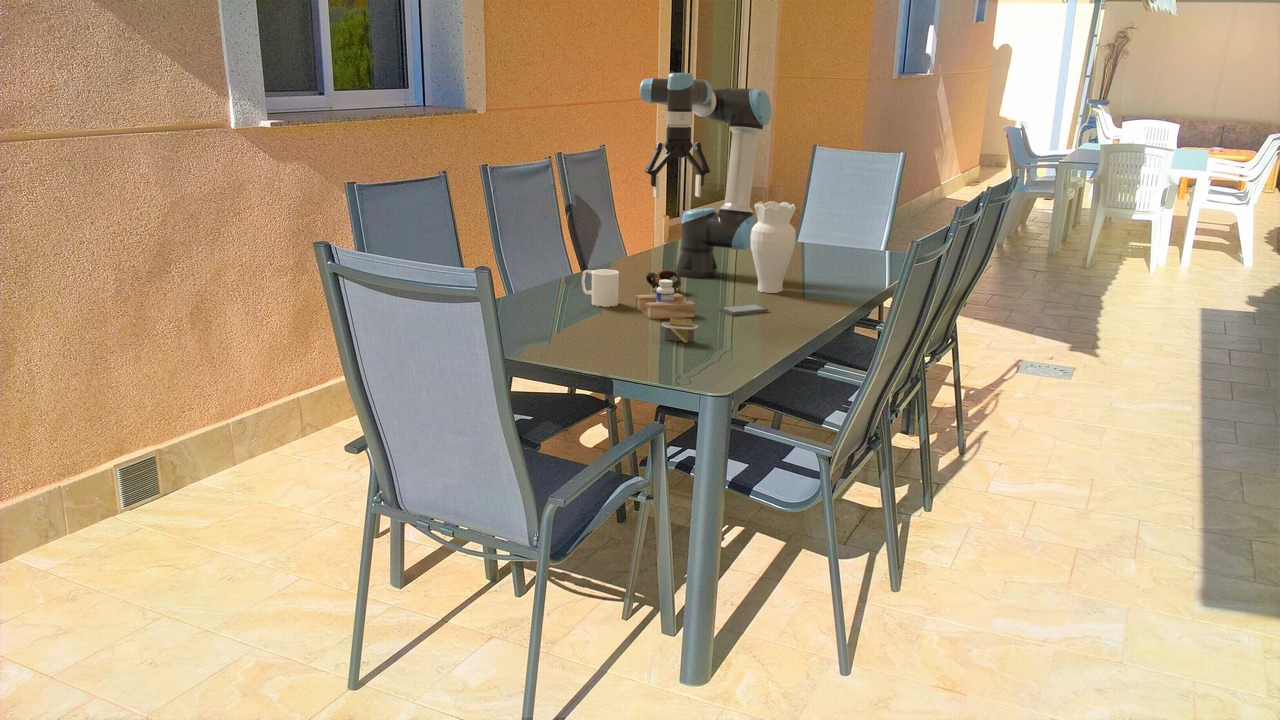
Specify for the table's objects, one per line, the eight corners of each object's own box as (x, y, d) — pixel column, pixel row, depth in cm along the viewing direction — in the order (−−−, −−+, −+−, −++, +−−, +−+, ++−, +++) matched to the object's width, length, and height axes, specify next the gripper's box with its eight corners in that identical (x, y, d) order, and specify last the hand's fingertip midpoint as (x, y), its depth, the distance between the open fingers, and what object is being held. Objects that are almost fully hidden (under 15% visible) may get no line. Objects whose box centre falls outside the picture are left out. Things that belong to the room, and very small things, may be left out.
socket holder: (635, 308, 308) (635, 295, 307) (678, 306, 312) (679, 293, 311) (649, 319, 295) (650, 305, 294) (694, 316, 299) (695, 303, 298)
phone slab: (719, 310, 307) (719, 307, 307) (755, 307, 313) (755, 303, 312) (731, 316, 301) (732, 312, 301) (768, 312, 307) (768, 308, 306)
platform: (709, 351, 265) (710, 326, 263) (641, 346, 268) (642, 322, 266) (714, 339, 276) (715, 316, 274) (649, 335, 279) (650, 312, 277)
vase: (742, 293, 331) (747, 204, 323) (753, 285, 345) (758, 199, 336) (786, 297, 327) (792, 207, 318) (796, 289, 340) (802, 202, 332)
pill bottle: (655, 310, 306) (655, 278, 303) (672, 310, 306) (673, 278, 304) (656, 314, 301) (657, 282, 298) (674, 314, 301) (675, 282, 298)
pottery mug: (682, 290, 336) (685, 272, 330) (672, 308, 329) (676, 289, 323) (648, 279, 338) (651, 260, 332) (638, 296, 331) (641, 277, 325)
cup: (586, 298, 319) (587, 267, 316) (622, 302, 315) (622, 270, 312) (576, 303, 312) (576, 271, 309) (611, 308, 308) (612, 275, 305)
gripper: (643, 126, 297) (641, 199, 303) (722, 126, 304) (719, 197, 310) (635, 125, 304) (634, 196, 310) (713, 125, 311) (710, 194, 317)
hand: (676, 197), depth 310 cm, fingers open, 13 cm apart
